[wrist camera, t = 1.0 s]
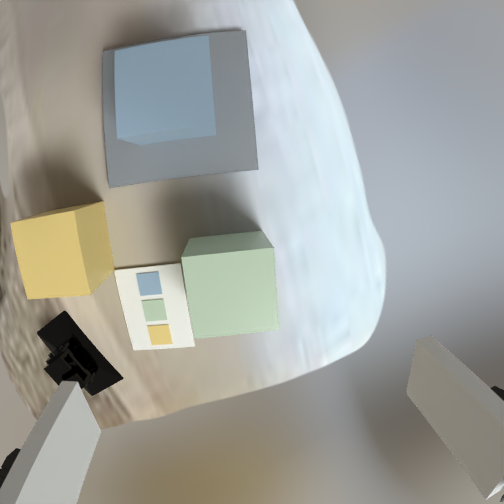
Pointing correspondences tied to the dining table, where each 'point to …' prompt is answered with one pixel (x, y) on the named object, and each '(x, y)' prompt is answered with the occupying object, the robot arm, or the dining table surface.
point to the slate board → (192, 149)
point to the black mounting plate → (75, 356)
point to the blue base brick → (164, 91)
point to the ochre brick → (63, 251)
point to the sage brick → (231, 284)
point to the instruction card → (155, 306)
